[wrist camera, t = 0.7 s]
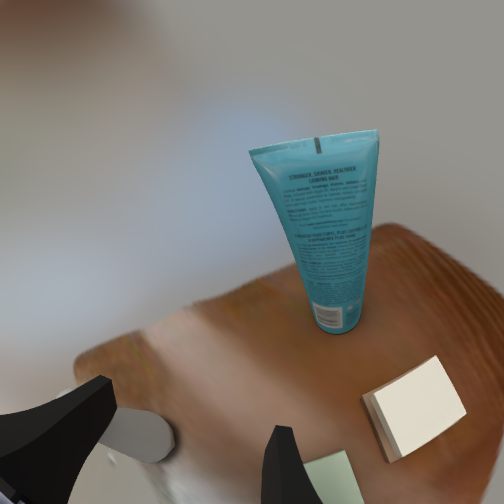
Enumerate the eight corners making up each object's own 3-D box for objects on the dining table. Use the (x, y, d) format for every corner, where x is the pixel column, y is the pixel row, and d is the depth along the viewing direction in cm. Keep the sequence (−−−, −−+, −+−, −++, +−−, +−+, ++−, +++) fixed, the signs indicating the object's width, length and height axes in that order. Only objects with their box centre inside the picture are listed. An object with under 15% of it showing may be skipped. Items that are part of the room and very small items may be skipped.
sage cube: (359, 493, 14) (364, 504, 10) (303, 511, 14) (295, 525, 11) (343, 449, 18) (344, 450, 14) (288, 467, 18) (277, 472, 14)
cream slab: (455, 417, 14) (466, 413, 12) (395, 456, 14) (402, 457, 12) (427, 364, 18) (435, 355, 16) (369, 398, 18) (373, 393, 17)
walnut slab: (450, 423, 15) (460, 420, 14) (384, 462, 16) (389, 463, 14) (422, 366, 20) (429, 358, 19) (359, 400, 21) (362, 395, 19)
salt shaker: (193, 439, 22) (98, 413, 12) (162, 473, 19) (61, 460, 10) (158, 405, 25) (68, 361, 16) (130, 438, 22) (37, 406, 13)
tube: (365, 288, 28) (362, 114, 14) (375, 326, 24) (395, 146, 11) (299, 301, 29) (248, 137, 16) (304, 341, 26) (247, 175, 12)
